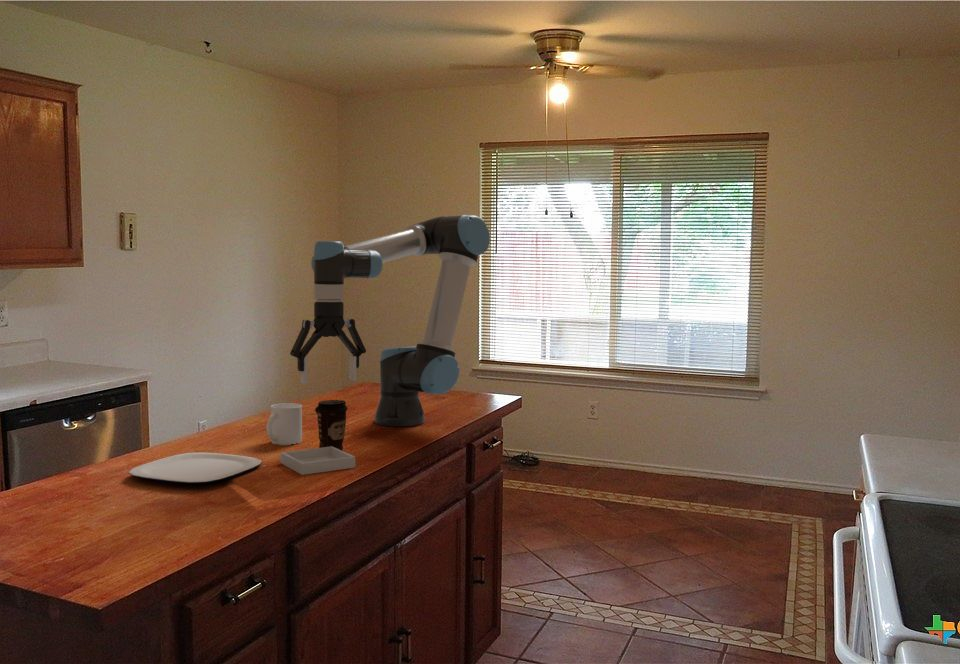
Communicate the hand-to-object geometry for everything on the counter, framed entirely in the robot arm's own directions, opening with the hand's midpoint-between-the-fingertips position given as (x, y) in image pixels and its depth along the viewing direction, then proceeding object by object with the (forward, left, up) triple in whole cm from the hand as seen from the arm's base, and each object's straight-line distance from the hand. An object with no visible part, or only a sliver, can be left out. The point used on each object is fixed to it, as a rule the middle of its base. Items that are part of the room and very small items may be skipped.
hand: (328, 382), depth 215 cm
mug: (+7, -14, -18) cm, 24 cm away
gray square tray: (+9, +13, -18) cm, 24 cm away
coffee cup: (-1, 0, -18) cm, 18 cm away
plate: (+35, +3, -19) cm, 40 cm away
